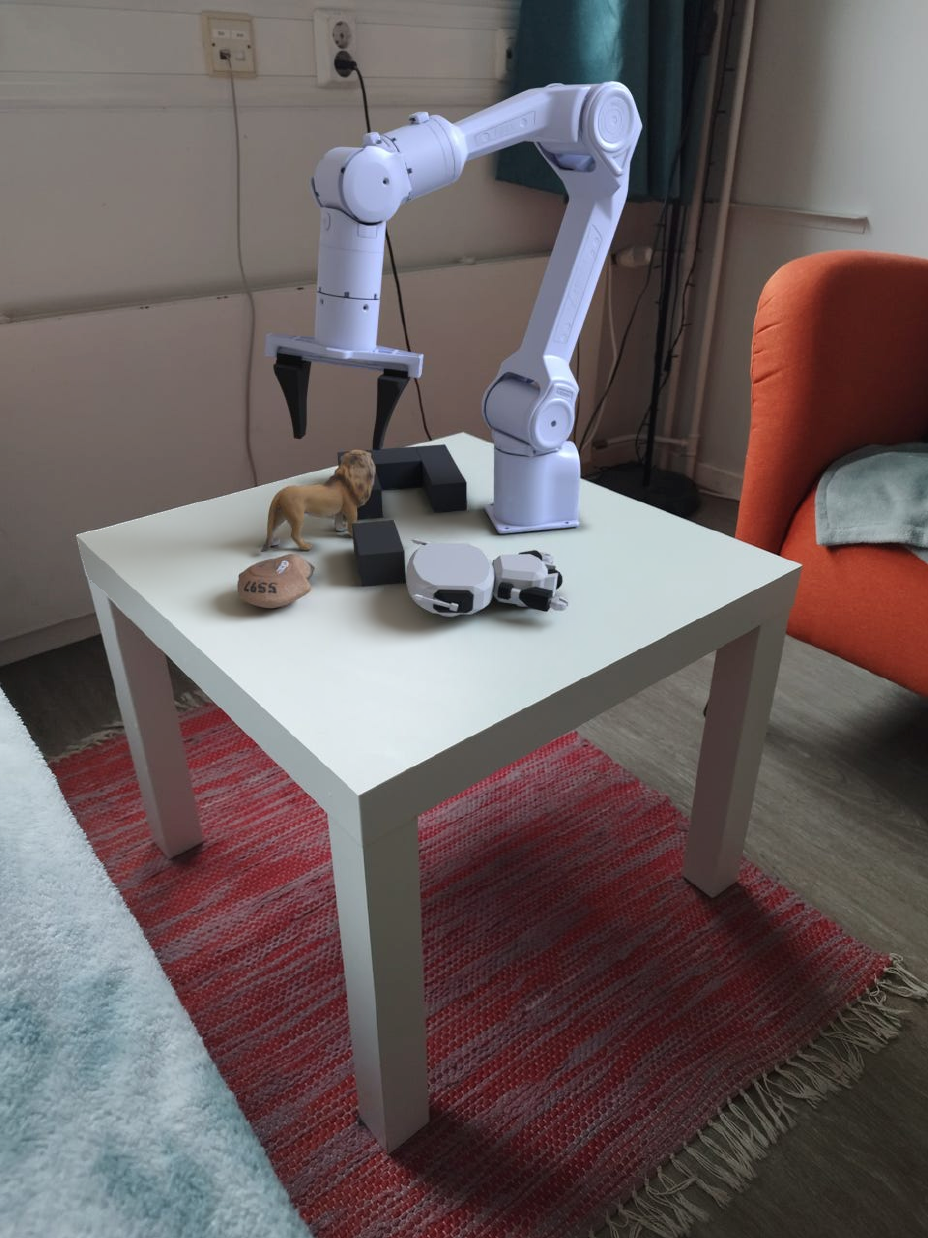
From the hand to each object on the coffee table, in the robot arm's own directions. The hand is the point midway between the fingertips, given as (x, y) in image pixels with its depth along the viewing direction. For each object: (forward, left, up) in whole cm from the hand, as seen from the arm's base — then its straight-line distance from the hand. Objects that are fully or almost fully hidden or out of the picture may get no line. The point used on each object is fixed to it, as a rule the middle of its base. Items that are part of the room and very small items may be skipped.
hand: (338, 442), depth 87 cm
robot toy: (-12, +10, -14) cm, 21 cm away
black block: (-3, +1, -14) cm, 14 cm away
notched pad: (-8, -19, -14) cm, 25 cm away
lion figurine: (+2, -8, -14) cm, 16 cm away
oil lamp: (+7, +5, -14) cm, 16 cm away
